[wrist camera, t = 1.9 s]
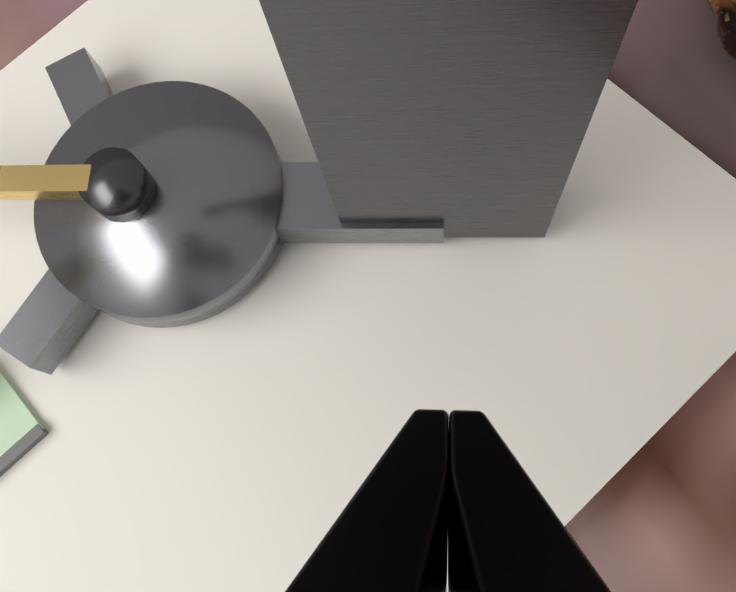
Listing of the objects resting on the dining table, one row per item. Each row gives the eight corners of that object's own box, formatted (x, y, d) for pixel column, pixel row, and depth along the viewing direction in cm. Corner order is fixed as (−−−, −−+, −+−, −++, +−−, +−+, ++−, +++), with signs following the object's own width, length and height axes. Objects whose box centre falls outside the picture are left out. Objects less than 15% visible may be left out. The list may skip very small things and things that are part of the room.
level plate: (810, 266, 18) (863, 232, 16) (151, 938, 15) (100, 1016, 13) (300, -139, 23) (285, -209, 21) (-251, 308, 21) (-337, 284, 18)
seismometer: (-186, 369, 19) (-730, 258, 10) (-111, 74, 21) (-494, -221, 12) (549, 385, 16) (666, 262, 8) (538, 56, 19) (619, -312, 10)
